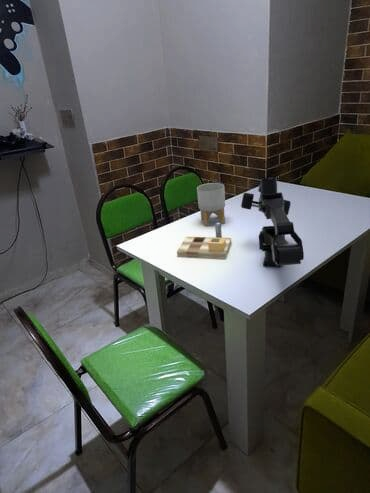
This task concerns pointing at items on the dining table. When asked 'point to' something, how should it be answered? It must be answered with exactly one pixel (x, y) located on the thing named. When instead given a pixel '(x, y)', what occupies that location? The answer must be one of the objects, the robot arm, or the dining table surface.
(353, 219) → the dining table surface
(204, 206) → the planter
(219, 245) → the block
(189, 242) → the subfloor board
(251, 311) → the dining table surface
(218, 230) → the peg
